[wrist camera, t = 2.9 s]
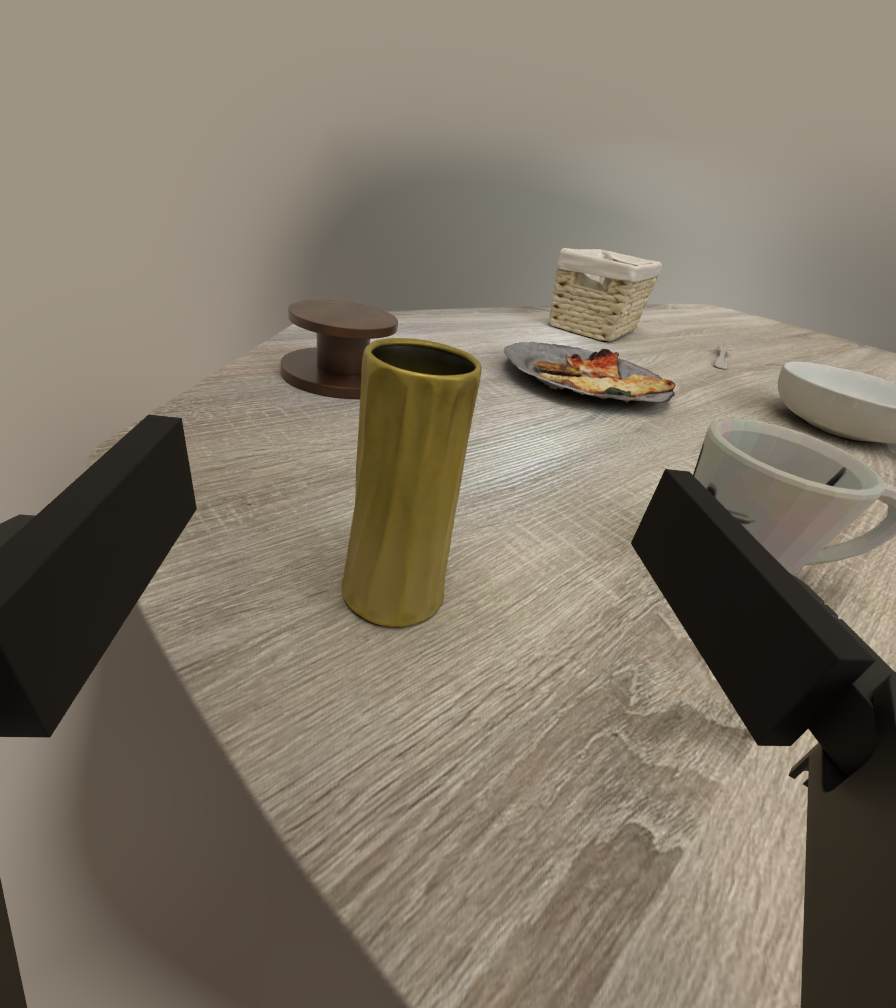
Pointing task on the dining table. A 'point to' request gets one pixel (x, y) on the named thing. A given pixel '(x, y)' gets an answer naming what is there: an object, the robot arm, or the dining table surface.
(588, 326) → the basket
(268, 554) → the dining table surface
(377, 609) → the vase
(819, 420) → the serving bowl
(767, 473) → the mug
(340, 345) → the stand
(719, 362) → the fork
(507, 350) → the food plate
